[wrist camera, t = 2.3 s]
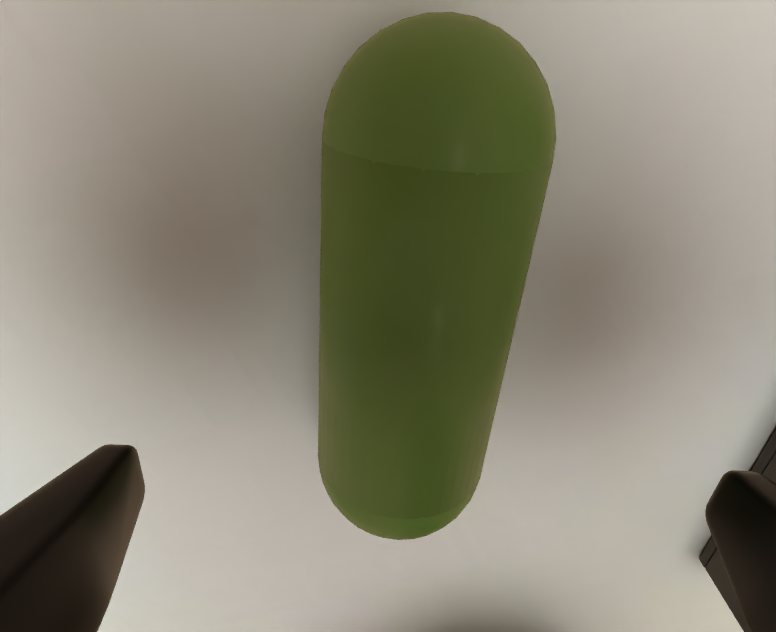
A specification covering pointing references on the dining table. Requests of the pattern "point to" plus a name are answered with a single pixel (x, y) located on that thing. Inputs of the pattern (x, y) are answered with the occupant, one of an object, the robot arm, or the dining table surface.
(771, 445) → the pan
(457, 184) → the squash
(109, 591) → the robot arm
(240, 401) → the dining table surface
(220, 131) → the dining table surface
